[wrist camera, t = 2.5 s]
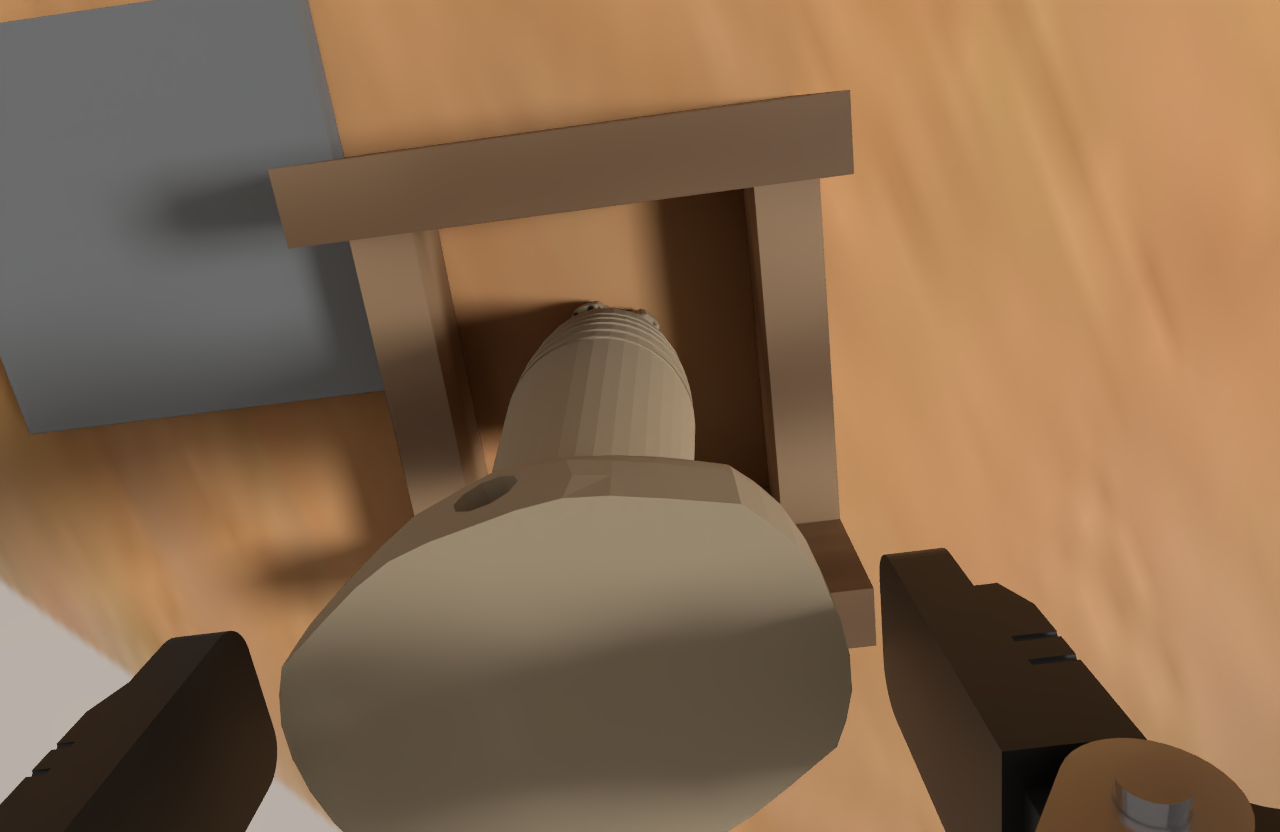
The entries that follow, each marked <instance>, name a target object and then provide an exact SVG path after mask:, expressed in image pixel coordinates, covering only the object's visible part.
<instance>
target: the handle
mask: <svg viewBox="0 0 1280 832" xmlns="http://www.w3.org/2000/svg"><path fill="white" fill-rule="evenodd" d="M694 453H695V418H694V410H693V403H692V397H691V391H690V387H689V383H688V380H687V377H686V374H685V371H684V369H683V366H682V364H681V362H680V360H679V358H678V356H677V354H676V352H675V350H674V349H673V347H672V346H671V344H670V343H669V342H668V340H667V339H666V337H665V336H664V335H663V334H662V333H661V332H660V331H659V324H658V322H657V320H656V319H655V318H654V317H653V316H652V315H651V314H649V313H648V312H647V311H645V310H644V309H640V310H637V311H626V310H621V309H616V308H609V307H607V306H605V305H603V304H602V302H600V301H594V302H590V303H587V304H584V305H582V306H580V307H578V308H577V309H576V310H575V311H574V312H573V313H572V314H571V318H570V319H569V320H567V321H566V322H564V323H563V324H562V325H560V326H559V327H558V328H557V329H556V330H555V331H554V332H553V333H551V334H550V335H549V336H548V337H547V338H546V339H545V341H544V342H543V343H542V345H541V346H540V347H539V349H538V350H537V351H536V353H535V354H534V355H533V357H532V358H531V359H530V361H529V362H528V364H527V366H526V368H525V370H524V372H523V373H522V375H521V377H520V379H519V381H518V384H517V386H516V388H515V390H514V393H513V395H512V397H511V400H510V403H509V407H508V410H507V414H506V418H505V422H504V426H503V430H502V434H501V438H500V442H499V446H498V451H497V455H496V459H495V463H494V467H493V471H492V473H491V474H489V475H487V476H485V477H483V478H481V479H479V480H477V481H475V482H473V483H471V484H469V485H467V486H465V487H463V488H461V489H460V490H458V491H457V492H455V493H453V494H451V495H450V496H448V497H446V498H445V499H443V500H441V501H439V502H438V503H436V504H434V505H432V506H431V507H429V508H427V509H425V510H424V511H422V512H420V513H418V514H417V515H415V516H414V517H413V518H412V519H411V520H409V521H408V522H407V523H406V524H405V525H404V526H403V527H402V528H401V529H400V530H399V531H397V532H396V533H395V534H394V535H393V536H392V537H391V538H390V539H389V540H388V541H387V542H386V543H384V544H383V545H382V546H381V547H380V548H379V549H378V550H377V551H376V552H375V553H374V555H373V556H372V557H371V558H370V559H368V560H367V561H366V562H365V563H364V564H363V566H362V567H361V568H360V569H359V570H358V571H357V572H356V573H355V574H354V575H353V576H352V577H351V579H350V580H349V581H348V582H347V583H346V584H345V585H344V586H343V587H342V588H341V589H340V591H339V592H338V593H337V594H336V595H335V596H334V597H333V599H332V600H331V601H330V602H329V603H328V604H327V605H326V607H325V608H324V609H323V610H322V611H321V612H320V614H319V615H318V616H317V617H316V618H315V619H314V620H313V622H312V623H311V624H310V625H309V627H308V628H307V630H306V631H305V633H304V634H303V636H302V637H301V639H300V640H299V642H298V643H297V645H296V646H295V648H294V649H293V651H292V652H291V654H290V655H289V657H288V659H287V660H286V662H285V663H284V665H283V666H282V672H281V682H280V693H279V698H280V713H281V725H282V728H283V731H284V734H285V737H286V740H287V744H288V747H289V750H290V753H291V756H292V759H293V760H294V762H295V764H296V766H297V768H298V770H299V772H300V773H301V775H302V777H303V779H304V781H305V783H306V785H307V786H308V788H309V790H310V792H311V793H312V795H313V796H314V797H315V799H316V800H317V801H318V802H319V804H320V805H321V806H322V808H323V809H324V810H325V812H326V813H327V814H328V815H329V817H330V818H331V819H332V821H333V822H334V823H335V824H336V825H337V826H338V827H339V828H340V829H341V830H342V831H343V832H728V831H729V830H731V829H732V828H734V827H735V826H737V825H739V824H740V823H742V822H743V821H745V820H747V819H748V818H750V817H751V816H753V815H754V814H755V813H757V812H758V811H759V810H760V809H762V808H763V807H764V806H765V805H767V804H768V803H769V802H770V801H772V800H773V799H774V798H775V797H777V796H778V795H779V794H781V793H782V792H783V791H784V790H786V789H787V788H788V787H789V786H791V785H792V784H793V783H794V782H795V781H796V780H798V779H799V778H800V777H801V776H802V775H804V774H805V773H806V772H807V771H808V770H810V769H811V768H812V767H813V766H814V765H816V764H817V763H818V762H819V761H820V760H822V759H823V758H824V757H825V756H826V755H828V754H829V753H830V752H831V751H832V750H833V749H835V748H836V747H837V745H838V742H839V739H840V736H841V734H842V731H843V728H844V725H845V722H846V719H847V714H848V708H849V703H850V698H851V693H852V683H851V669H850V654H849V651H848V647H847V643H846V639H845V636H844V632H843V628H842V624H841V621H840V617H839V614H838V611H837V609H836V606H835V604H834V601H833V599H832V596H831V594H830V591H829V589H828V586H827V584H826V582H825V579H824V577H823V575H822V573H821V571H820V568H819V566H818V564H817V562H816V560H815V558H814V556H813V554H812V552H811V550H810V548H809V545H808V543H807V541H806V540H805V538H804V536H803V535H802V533H801V532H800V531H799V529H798V528H797V526H796V525H795V524H794V522H793V521H792V520H791V518H790V517H789V515H788V514H787V513H786V511H785V510H784V508H783V507H782V506H781V504H780V503H778V502H777V501H776V500H775V499H774V498H773V497H772V496H770V495H769V494H768V493H767V492H766V491H765V490H763V489H762V488H761V487H760V486H759V485H758V484H756V483H755V482H754V481H752V480H751V479H749V478H748V477H746V476H745V475H743V474H742V473H740V472H739V471H737V470H735V469H734V468H732V467H731V466H729V465H728V464H720V463H712V462H704V461H696V460H694Z"/></svg>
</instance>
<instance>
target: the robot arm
mask: <svg viewBox="0 0 1280 832" xmlns="http://www.w3.org/2000/svg"><path fill="white" fill-rule="evenodd" d="M880 593H881V614H882V635H883V656H884V670H885V678H886V684H887V689H888V694H889V698H890V702H891V706H892V709H893V712H894V715H895V717H896V720H897V722H898V725H899V727H900V729H901V731H902V734H903V736H904V738H905V740H906V743H907V745H908V747H909V750H910V752H911V754H912V756H913V759H914V761H915V763H916V765H917V768H918V770H919V772H920V775H921V777H922V779H923V781H924V784H925V786H926V788H927V790H928V793H929V795H930V797H931V800H932V802H933V804H934V806H935V809H936V811H937V813H938V815H939V818H940V820H941V822H942V825H943V827H944V829H945V831H946V832H1280V809H1275V808H1269V807H1263V806H1259V805H1255V804H1252V803H1249V801H1248V799H1247V797H1246V796H1245V794H1244V793H1243V792H1242V790H1241V789H1240V788H1239V787H1238V786H1237V785H1236V783H1235V782H1234V781H1232V780H1231V779H1230V778H1229V777H1228V776H1227V775H1226V774H1224V773H1223V772H1222V771H1220V770H1219V769H1217V768H1216V767H1215V766H1213V765H1212V764H1210V763H1208V762H1207V761H1205V760H1203V759H1201V758H1199V757H1197V756H1196V755H1193V754H1191V753H1189V752H1186V751H1184V750H1182V749H1179V748H1176V747H1173V746H1170V745H1167V744H1163V743H1158V742H1154V741H1150V740H1147V739H1146V738H1145V737H1144V735H1143V734H1142V733H1141V732H1140V731H1139V729H1138V728H1137V727H1136V726H1135V725H1134V723H1133V722H1132V721H1131V720H1130V719H1129V717H1128V716H1127V715H1126V714H1125V713H1124V711H1123V710H1122V709H1121V708H1120V707H1119V705H1118V704H1117V703H1116V702H1115V701H1114V699H1113V698H1112V697H1111V696H1110V695H1109V693H1108V692H1107V691H1106V690H1105V689H1104V687H1103V686H1102V685H1101V684H1100V683H1099V681H1098V680H1097V679H1096V678H1095V677H1094V675H1093V674H1092V673H1091V672H1090V671H1089V669H1088V668H1087V667H1086V666H1085V665H1084V663H1083V662H1082V661H1081V660H1077V659H1076V654H1075V652H1074V651H1073V650H1072V649H1071V648H1070V646H1069V645H1068V644H1067V643H1066V642H1065V640H1064V639H1063V638H1062V637H1061V636H1060V637H1058V636H1057V631H1056V630H1055V628H1054V627H1053V626H1052V625H1051V624H1050V622H1049V621H1048V620H1047V619H1046V618H1045V616H1044V615H1043V614H1042V613H1041V612H1040V610H1039V609H1038V608H1037V607H1036V606H1035V604H1033V603H1032V602H1030V601H1028V600H1026V599H1025V598H1023V597H1021V596H1019V595H1018V594H1016V593H1014V592H1012V591H1010V590H1009V589H1007V588H1005V587H1003V586H1002V585H1000V584H998V583H993V584H984V585H976V586H974V585H973V584H972V583H971V581H970V580H969V579H968V577H967V576H966V575H965V573H964V572H963V571H962V569H961V568H960V566H959V565H958V564H957V562H956V561H955V560H954V558H953V557H952V556H951V554H950V553H949V552H948V551H947V550H946V549H945V548H937V549H929V550H921V551H912V552H904V553H895V554H887V555H883V556H882V557H881V561H880ZM276 762H277V741H276V735H275V731H274V728H273V725H272V721H271V718H270V715H269V712H268V709H267V706H266V702H265V699H264V696H263V693H262V690H261V687H260V683H259V680H258V677H257V674H256V671H255V668H254V665H253V661H252V658H251V655H250V652H249V649H248V646H247V644H246V642H245V640H244V639H243V637H242V636H241V635H240V634H239V633H237V632H235V631H226V632H217V633H209V634H200V635H192V636H184V637H175V638H171V639H170V640H168V641H166V642H165V643H164V644H163V645H162V646H161V647H160V649H159V650H158V651H157V652H156V653H155V654H154V655H153V656H152V657H151V659H150V660H149V661H148V662H147V663H146V664H145V665H144V666H143V667H142V668H141V670H140V671H139V672H138V673H137V674H136V675H135V676H134V677H133V678H132V680H131V681H130V682H129V683H127V684H126V685H125V686H123V687H122V688H120V689H119V690H117V691H116V692H114V693H113V694H112V695H110V696H109V697H107V698H106V699H104V700H103V701H102V702H100V703H99V704H97V705H96V706H94V707H93V708H91V709H90V710H89V711H87V712H86V713H85V714H84V715H83V716H82V717H81V718H80V720H79V721H78V722H77V723H76V724H75V725H74V726H73V727H72V728H71V729H70V730H69V731H68V732H67V733H66V735H65V736H64V737H63V738H62V739H61V740H60V741H59V742H58V743H57V749H56V750H51V751H50V752H49V753H48V754H47V755H46V756H45V757H44V758H43V759H42V760H41V761H40V763H39V764H38V765H37V766H36V767H35V768H34V769H33V770H32V772H33V774H32V777H26V778H25V779H24V780H23V781H22V782H21V783H20V784H19V785H18V786H17V787H16V788H15V789H14V791H12V793H11V794H10V795H9V796H8V797H7V798H6V799H5V800H4V801H3V802H2V803H1V804H0V832H245V831H246V829H247V827H248V826H249V824H250V822H251V820H252V818H253V817H254V815H255V813H256V811H257V809H258V807H259V806H260V804H261V802H262V800H263V798H264V796H265V795H266V793H267V791H268V789H269V787H270V785H271V783H272V780H273V777H274V773H275V769H276Z"/></svg>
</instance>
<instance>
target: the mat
mask: <svg viewBox="0 0 1280 832" xmlns="http://www.w3.org/2000/svg"><path fill="white" fill-rule="evenodd" d="M340 158H344V155H343V151H342V146H341V142H340V138H339V133H338V129H337V125H336V120H335V116H334V112H333V107H332V103H331V99H330V94H329V90H328V86H327V81H326V77H325V73H324V69H323V64H322V60H321V56H320V51H319V47H318V43H317V38H316V34H315V30H314V25H313V21H312V17H311V12H310V8H309V4H308V0H153V1H146V2H140V3H133V4H126V5H119V6H112V7H106V8H99V9H92V10H85V11H78V12H71V13H65V14H58V15H51V16H44V17H37V18H31V19H24V20H17V21H10V22H3V23H0V358H1V360H2V363H3V365H4V368H5V371H6V373H7V376H8V378H9V381H10V384H11V386H12V389H13V391H14V394H15V397H16V399H17V402H18V404H19V407H20V410H21V412H22V415H23V418H24V420H25V423H26V425H27V428H28V431H29V433H30V434H38V433H46V432H54V431H62V430H70V429H78V428H86V427H94V426H102V425H110V424H118V423H126V422H135V421H143V420H151V419H159V418H167V417H175V416H183V415H191V414H199V413H207V412H215V411H223V410H231V409H239V408H247V407H255V406H263V405H271V404H279V403H287V402H295V401H303V400H311V399H319V398H327V397H335V396H343V395H351V394H359V393H367V392H375V391H383V390H384V385H383V381H382V377H381V373H380V369H379V364H378V360H377V356H376V352H375V347H374V343H373V339H372V335H371V331H370V326H369V322H368V318H367V314H366V309H365V305H364V301H363V297H362V293H361V288H360V284H359V280H358V276H357V271H356V267H355V263H354V259H353V255H352V250H351V246H350V242H349V241H343V242H336V243H328V244H321V245H313V246H306V247H298V248H291V249H288V246H287V242H286V238H285V234H284V230H283V226H282V223H281V219H280V215H279V211H278V207H277V203H276V200H275V196H274V192H273V188H272V184H271V180H270V177H269V173H268V170H269V169H275V168H282V167H288V166H295V165H301V164H307V163H314V162H320V161H327V160H333V159H340Z"/></svg>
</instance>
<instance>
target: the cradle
mask: <svg viewBox="0 0 1280 832" xmlns="http://www.w3.org/2000/svg"><path fill="white" fill-rule="evenodd" d="M268 173H269V177H270V180H271V184H272V188H273V192H274V196H275V200H276V203H277V207H278V211H279V215H280V219H281V223H282V226H283V230H284V234H285V238H286V242H287V246H288V249H291V248H298V247H306V246H313V245H321V244H328V243H336V242H343V241H349V242H350V246H351V250H352V255H353V259H354V263H355V267H356V271H357V276H358V280H359V284H360V288H361V293H362V297H363V301H364V305H365V309H366V314H367V318H368V322H369V326H370V331H371V335H372V339H373V343H374V347H375V352H376V356H377V360H378V364H379V369H380V373H381V377H382V381H383V385H384V390H385V394H386V398H387V402H388V407H389V411H390V415H391V419H392V423H393V428H394V432H395V436H396V440H397V445H398V449H399V453H400V457H401V461H402V466H403V470H404V474H405V478H406V483H407V487H408V491H409V495H410V499H411V504H412V508H413V512H414V516H415V515H417V514H418V513H420V512H422V511H424V510H425V509H427V508H429V507H431V506H432V505H434V504H436V503H438V502H439V501H441V500H443V499H445V498H446V497H448V496H450V495H451V494H453V493H455V492H457V491H458V490H460V489H461V488H463V487H465V486H467V485H469V484H471V483H473V482H475V481H477V480H479V479H481V478H483V477H485V476H487V475H488V474H487V469H486V464H485V459H484V454H483V449H482V444H481V439H480V435H479V430H478V425H477V420H476V415H475V410H474V405H473V400H472V395H471V390H470V385H469V380H468V375H467V370H466V366H465V361H464V356H463V351H462V346H461V341H460V336H459V331H458V326H457V321H456V316H455V311H454V306H453V301H452V297H451V292H450V287H449V282H448V277H447V272H446V267H445V262H444V257H443V252H442V247H441V242H440V237H439V233H438V229H441V228H449V227H456V226H464V225H472V224H479V223H487V222H494V221H502V220H509V219H517V218H524V217H532V216H539V215H547V214H554V213H562V212H570V211H577V210H585V209H592V208H600V207H607V206H615V205H622V204H630V203H637V202H645V201H652V200H660V199H668V198H675V197H683V196H690V195H698V194H705V193H713V192H720V191H728V190H735V189H743V194H744V205H745V216H746V228H747V239H748V250H749V262H750V273H751V284H752V296H753V307H754V318H755V330H756V341H757V352H758V364H759V375H760V386H761V398H762V409H763V420H764V432H765V443H766V455H767V466H768V477H769V487H763V488H762V489H763V490H765V491H766V492H767V493H768V494H769V495H770V496H772V497H773V498H774V499H775V500H776V501H777V502H778V503H780V504H781V506H782V507H783V508H784V510H785V511H786V513H787V514H788V515H789V517H790V518H791V520H792V521H793V522H794V524H795V525H796V526H797V528H798V529H799V531H800V532H801V533H802V535H803V536H804V538H805V540H806V541H807V543H808V545H809V548H810V550H811V552H812V554H813V556H814V558H815V560H816V562H817V564H818V566H819V568H820V571H821V573H822V575H823V577H824V579H825V582H826V584H827V586H828V589H829V591H830V594H831V596H832V599H833V601H834V604H835V606H836V609H837V611H838V614H839V617H840V621H841V624H842V628H843V632H844V636H845V639H846V643H847V647H848V648H857V647H866V646H875V645H876V631H875V610H874V589H873V586H872V584H871V582H870V580H869V578H868V576H867V574H866V572H865V570H864V568H863V566H862V563H861V561H860V559H859V557H858V555H857V553H856V551H855V549H854V547H853V545H852V543H851V541H850V539H849V537H848V535H847V533H846V531H845V528H844V526H843V524H842V522H841V520H840V512H839V495H838V479H837V462H836V445H835V429H834V412H833V395H832V379H831V362H830V345H829V328H828V312H827V295H826V278H825V262H824V245H823V228H822V212H821V195H820V178H826V177H833V176H841V175H848V174H854V166H853V145H852V124H851V102H850V90H845V91H835V92H825V93H816V94H806V95H796V96H789V97H781V98H774V99H767V100H760V101H752V102H745V103H738V104H730V105H723V106H716V107H708V108H701V109H694V110H687V111H679V112H672V113H665V114H657V115H650V116H643V117H635V118H628V119H621V120H614V121H606V122H599V123H592V124H584V125H577V126H570V127H563V128H555V129H548V130H541V131H533V132H526V133H519V134H511V135H504V136H497V137H490V138H482V139H475V140H468V141H460V142H453V143H446V144H438V145H431V146H424V147H417V148H409V149H402V150H395V151H387V152H380V153H373V154H365V155H359V156H352V157H346V158H340V159H333V160H327V161H320V162H314V163H307V164H301V165H295V166H288V167H282V168H275V169H269V170H268Z"/></svg>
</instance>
